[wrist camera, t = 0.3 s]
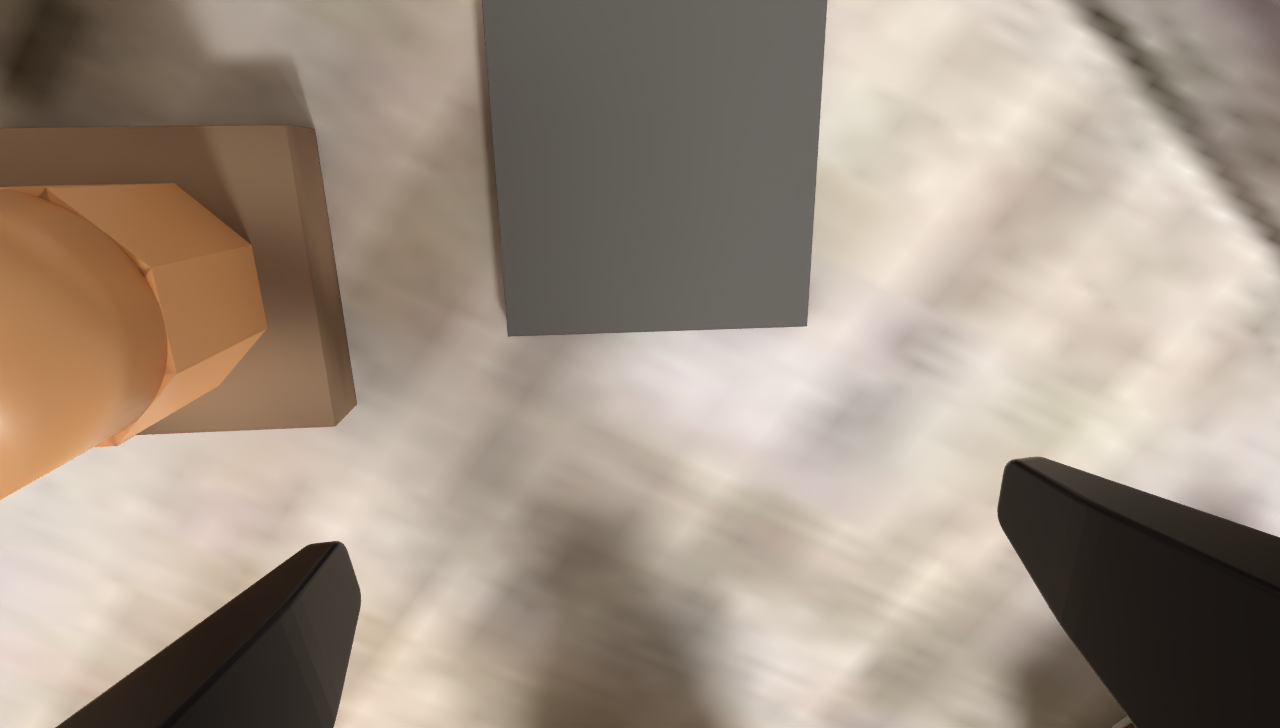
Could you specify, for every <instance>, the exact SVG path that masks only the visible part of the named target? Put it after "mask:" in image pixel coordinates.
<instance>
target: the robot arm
mask: <svg viewBox="0 0 1280 728" xmlns="http://www.w3.org/2000/svg"><path fill="white" fill-rule="evenodd" d="M997 512H998V519H999V522H1000V525H1001V527H1002V529H1003V531H1004V533H1005V534H1006V536H1007V538H1008V539H1009V541H1010V543H1011V544H1012V546H1013V548H1014V549H1015V551H1016V553H1017V554H1018V556H1019V558H1020V559H1021V561H1022V563H1023V564H1024V566H1025V568H1026V569H1027V571H1028V573H1029V574H1030V576H1031V578H1032V579H1033V581H1034V583H1035V584H1036V586H1037V588H1038V589H1039V591H1040V593H1041V594H1042V596H1043V598H1044V599H1045V601H1046V603H1047V604H1048V606H1049V608H1050V609H1051V611H1052V612H1053V614H1054V615H1055V617H1056V619H1057V620H1058V622H1059V623H1060V625H1061V626H1062V628H1063V629H1064V630H1065V632H1066V633H1067V635H1068V636H1069V638H1070V639H1071V640H1072V642H1073V643H1074V644H1075V646H1076V647H1077V649H1078V650H1079V651H1080V653H1081V654H1082V655H1083V657H1084V658H1085V659H1086V661H1087V662H1088V663H1089V665H1090V666H1091V668H1092V669H1093V670H1094V672H1095V673H1096V674H1097V676H1098V677H1099V678H1100V680H1101V681H1102V682H1103V684H1104V685H1105V686H1106V688H1107V689H1108V691H1109V692H1110V693H1111V695H1112V696H1113V697H1114V699H1115V700H1116V701H1117V703H1118V704H1119V705H1120V707H1121V708H1122V709H1123V711H1124V712H1125V714H1126V715H1127V716H1128V718H1129V719H1130V720H1131V722H1132V723H1133V724H1134V726H1135V727H1136V728H1280V537H1277V536H1274V535H1271V534H1268V533H1265V532H1262V531H1259V530H1256V529H1253V528H1250V527H1247V526H1244V525H1241V524H1238V523H1235V522H1232V521H1229V520H1226V519H1223V518H1220V517H1218V516H1215V515H1212V514H1209V513H1206V512H1203V511H1200V510H1197V509H1194V508H1191V507H1188V506H1185V505H1182V504H1179V503H1176V502H1173V501H1170V500H1167V499H1164V498H1161V497H1158V496H1155V495H1153V494H1150V493H1147V492H1144V491H1141V490H1138V489H1135V488H1132V487H1129V486H1126V485H1123V484H1120V483H1117V482H1114V481H1111V480H1108V479H1105V478H1102V477H1099V476H1096V475H1093V474H1090V473H1088V472H1085V471H1082V470H1079V469H1076V468H1073V467H1070V466H1067V465H1064V464H1061V463H1058V462H1055V461H1052V460H1049V459H1046V458H1043V457H1029V458H1021V459H1013V460H1011V461H1009V462H1008V463H1007V464H1006V466H1005V468H1004V473H1003V479H1002V484H1001V490H1000V496H999V502H998V510H997ZM360 606H361V593H360V588H359V585H358V582H357V579H356V575H355V572H354V569H353V566H352V563H351V560H350V557H349V554H348V551H347V549H346V547H345V546H344V544H343V543H341V542H339V541H332V542H324V543H315V544H310V545H307V546H306V547H304V548H303V549H301V550H300V551H299V552H297V553H296V554H295V555H293V556H292V557H290V558H289V559H288V560H286V561H285V562H283V563H282V564H281V565H279V566H278V567H277V568H275V569H274V570H272V571H271V572H270V573H268V574H267V575H265V576H264V577H263V578H261V579H260V580H259V581H257V582H256V583H254V584H253V585H252V586H250V587H249V588H248V589H246V590H245V591H243V592H242V593H241V594H239V595H238V596H236V597H235V598H234V599H232V600H231V601H230V602H228V603H227V604H225V605H224V606H223V607H221V608H220V609H219V610H217V611H216V612H214V613H213V614H212V615H210V616H209V617H207V618H206V619H205V620H203V621H202V622H201V623H199V624H198V625H196V626H195V627H194V628H192V629H191V630H190V631H188V632H187V633H185V634H184V635H183V636H181V637H180V638H178V639H177V640H176V641H174V642H173V643H172V644H170V645H169V646H167V647H166V648H165V649H163V650H162V651H160V652H159V653H158V654H156V655H155V656H154V657H152V658H151V659H149V660H148V661H147V662H145V663H144V664H143V665H141V666H140V667H138V668H137V669H136V670H134V671H133V672H131V673H130V674H129V675H127V676H126V677H125V678H123V679H122V680H120V681H119V682H118V683H116V684H115V685H114V686H112V687H111V688H109V689H108V690H107V691H105V692H104V693H102V694H101V695H100V696H98V697H97V698H96V699H94V700H93V701H91V702H90V703H89V704H87V705H86V706H85V707H83V708H82V709H80V710H79V711H78V712H76V713H75V714H73V715H72V716H71V717H69V718H68V719H67V720H65V721H64V722H62V723H61V724H60V725H58V726H57V727H55V728H333V727H334V724H335V720H336V716H337V712H338V708H339V704H340V700H341V695H342V690H343V686H344V681H345V676H346V672H347V667H348V663H349V658H350V653H351V649H352V644H353V639H354V635H355V630H356V625H357V621H358V616H359V611H360Z"/></svg>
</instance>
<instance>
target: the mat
mask: <svg viewBox="0 0 1280 728" xmlns="http://www.w3.org/2000/svg"><path fill="white" fill-rule="evenodd" d="M482 7H483V20H484V33H485V46H486V59H487V72H488V85H489V98H490V111H491V123H492V136H493V149H494V162H495V175H496V188H497V201H498V214H499V227H500V240H501V253H502V266H503V278H504V291H505V304H506V317H507V330H508V336H536V335H565V334H595V333H624V332H654V331H683V330H713V329H742V328H772V327H801V326H807V317H808V301H809V285H810V269H811V253H812V236H813V220H814V204H815V188H816V172H817V156H818V140H819V124H820V107H821V91H822V75H823V59H824V43H825V27H826V11H827V0H482Z"/></svg>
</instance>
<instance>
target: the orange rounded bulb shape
mask: <svg viewBox="0 0 1280 728" xmlns="http://www.w3.org/2000/svg"><path fill="white" fill-rule="evenodd" d="M266 329H267V323H266V318H265V313H264V308H263V302H262V297H261V292H260V286H259V281H258V276H257V271H256V265H255V260H254V255H253V249H252V245H251V244H250V243H248V242H247V241H246V240H245V239H243V238H242V237H241V236H240V235H238V234H237V233H236V232H235V231H233V230H232V229H231V228H230V227H228V226H227V225H226V224H225V223H223V222H222V221H221V220H220V219H218V218H217V217H216V216H215V215H214V214H212V213H211V212H210V211H209V210H207V209H206V208H205V207H204V206H202V205H201V204H200V203H199V202H197V201H196V200H195V199H194V198H192V197H191V196H190V195H189V194H187V193H186V192H185V191H184V190H182V189H181V188H180V187H179V186H177V185H176V184H175V183H161V184H101V185H55V186H24V187H0V500H1V499H3V498H4V497H6V496H8V495H10V494H12V493H13V492H15V491H17V490H19V489H20V488H22V487H24V486H26V485H27V484H29V483H31V482H33V481H35V480H36V479H38V478H40V477H42V476H43V475H45V474H47V473H49V472H50V471H52V470H54V469H56V468H58V467H59V466H61V465H63V464H65V463H66V462H68V461H70V460H72V459H73V458H75V457H77V456H79V455H81V454H82V453H84V452H86V451H88V450H89V449H91V448H93V447H105V446H118V445H120V444H121V443H123V442H125V441H126V440H128V439H130V438H131V437H133V436H135V435H136V434H138V433H140V432H142V431H143V430H145V429H147V428H148V427H150V426H152V425H153V424H155V423H157V422H158V421H160V420H162V419H164V418H165V417H167V416H169V415H170V414H172V413H174V412H175V411H177V410H179V409H180V408H182V407H184V406H186V405H187V404H189V403H191V402H192V401H194V400H196V399H197V398H199V397H201V396H203V395H204V394H206V393H208V392H209V391H211V390H213V389H214V388H216V387H218V386H219V385H220V384H221V382H222V381H223V380H224V379H225V378H226V377H227V375H228V374H229V373H230V372H231V371H232V369H233V368H234V367H235V366H236V365H237V364H238V362H239V361H240V360H241V359H242V358H243V357H244V355H245V354H246V353H247V352H248V351H249V349H250V348H251V347H252V346H253V345H254V344H255V342H256V341H257V340H258V339H259V338H260V336H261V335H262V334H263V333H264V332H265V331H266Z"/></svg>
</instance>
